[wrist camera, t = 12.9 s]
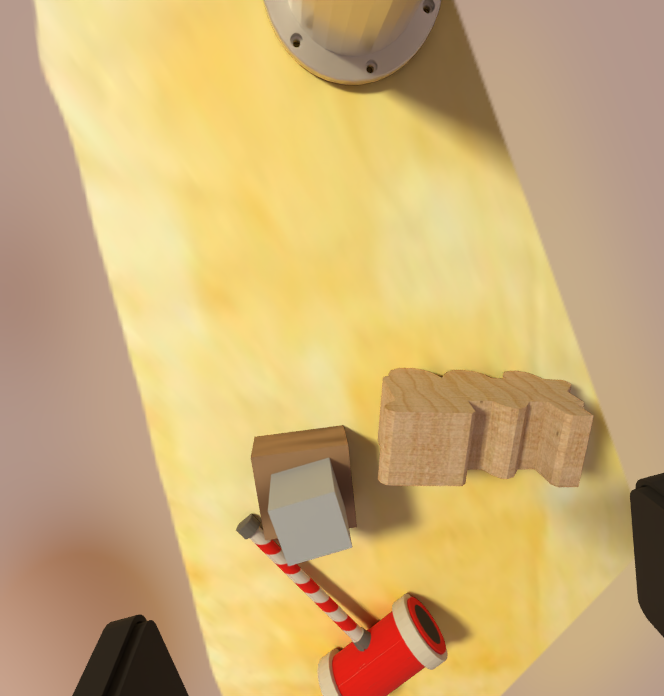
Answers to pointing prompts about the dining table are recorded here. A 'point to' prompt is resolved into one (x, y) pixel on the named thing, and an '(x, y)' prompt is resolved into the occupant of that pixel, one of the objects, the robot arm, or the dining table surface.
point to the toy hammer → (364, 635)
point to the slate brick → (308, 512)
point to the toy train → (479, 427)
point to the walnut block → (298, 451)
